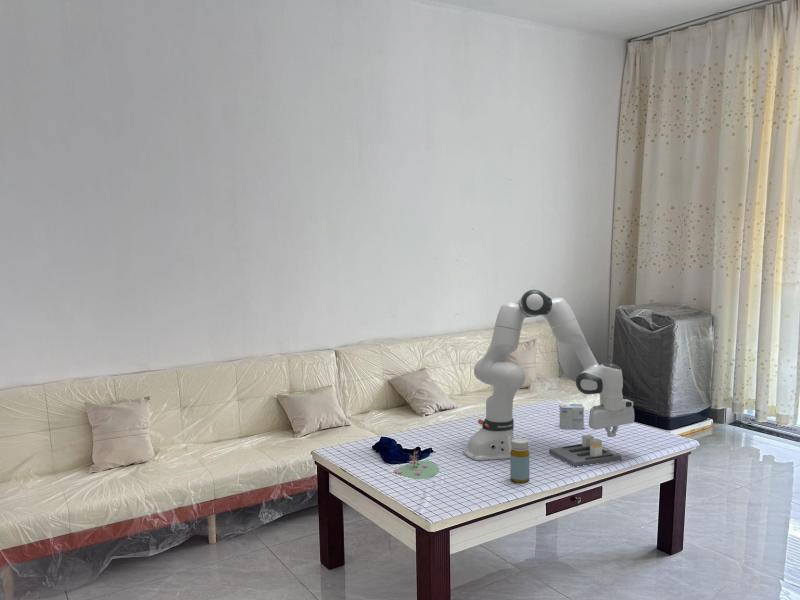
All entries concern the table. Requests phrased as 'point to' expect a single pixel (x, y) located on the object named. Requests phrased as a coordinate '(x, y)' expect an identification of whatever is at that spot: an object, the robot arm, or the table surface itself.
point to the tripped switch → (595, 450)
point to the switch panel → (584, 453)
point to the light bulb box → (571, 416)
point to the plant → (418, 469)
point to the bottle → (519, 460)
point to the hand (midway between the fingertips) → (611, 436)
